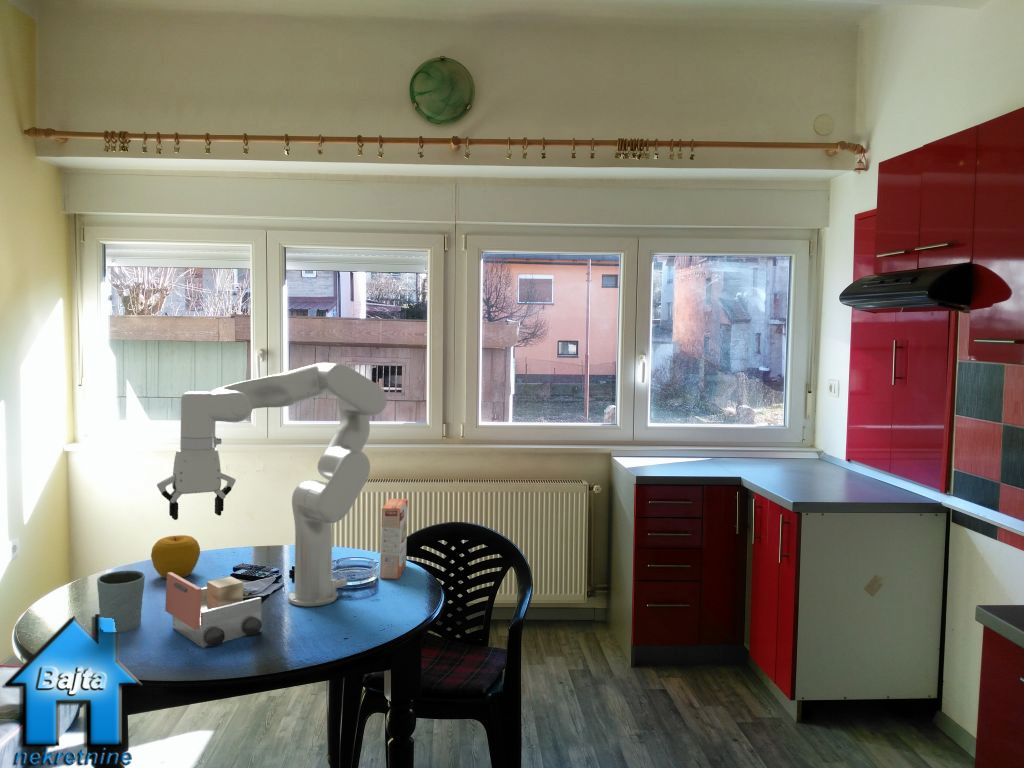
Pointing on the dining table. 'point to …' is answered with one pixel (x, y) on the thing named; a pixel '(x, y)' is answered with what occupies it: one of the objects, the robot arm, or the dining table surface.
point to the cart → (223, 622)
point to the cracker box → (393, 538)
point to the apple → (175, 555)
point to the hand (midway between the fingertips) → (196, 516)
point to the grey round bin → (121, 598)
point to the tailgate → (183, 600)
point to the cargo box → (224, 592)
